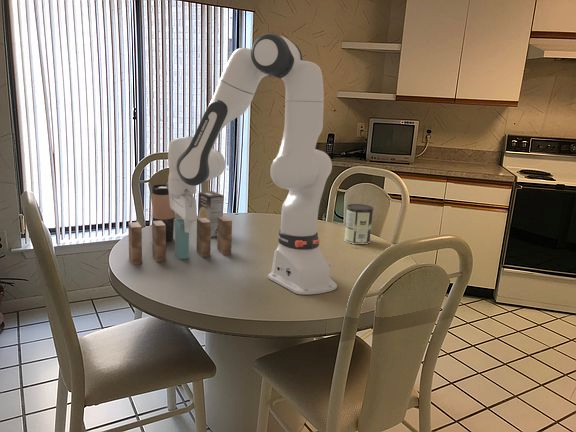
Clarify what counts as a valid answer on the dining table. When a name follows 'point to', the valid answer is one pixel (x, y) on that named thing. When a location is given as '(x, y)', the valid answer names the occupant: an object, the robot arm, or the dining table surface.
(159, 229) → the domino
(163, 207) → the travel mug
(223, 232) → the domino
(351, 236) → the coffee can
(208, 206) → the coffee box
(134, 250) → the domino far
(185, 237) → the domino
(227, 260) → the dining table surface
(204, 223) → the domino
